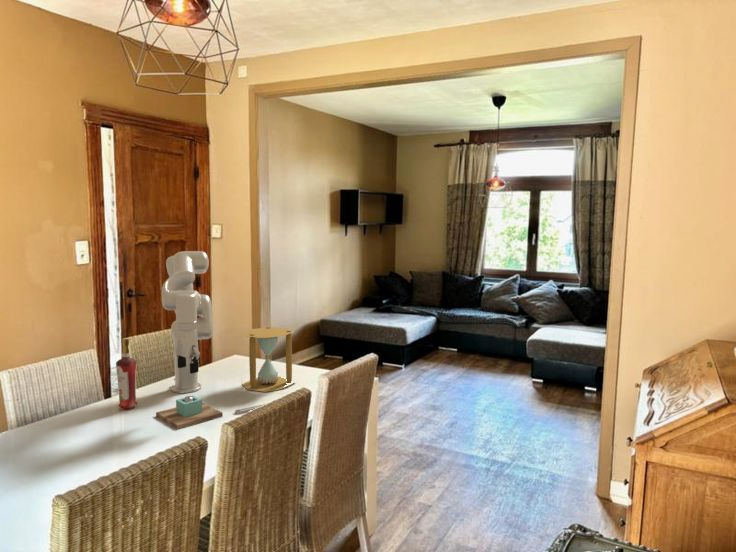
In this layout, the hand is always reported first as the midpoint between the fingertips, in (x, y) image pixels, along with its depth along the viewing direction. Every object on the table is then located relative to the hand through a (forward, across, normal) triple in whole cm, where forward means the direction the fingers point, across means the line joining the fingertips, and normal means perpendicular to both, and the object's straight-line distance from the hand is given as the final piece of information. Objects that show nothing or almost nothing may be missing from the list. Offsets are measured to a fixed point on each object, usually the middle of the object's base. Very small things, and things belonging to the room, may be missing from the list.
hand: (188, 370), depth 202 cm
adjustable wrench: (+19, +12, +26) cm, 35 cm away
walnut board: (+18, 0, 0) cm, 18 cm away
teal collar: (+17, 0, 0) cm, 17 cm away
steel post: (+17, 0, 0) cm, 17 cm away
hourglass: (+19, -12, +45) cm, 50 cm away
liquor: (+19, -26, -13) cm, 34 cm away
